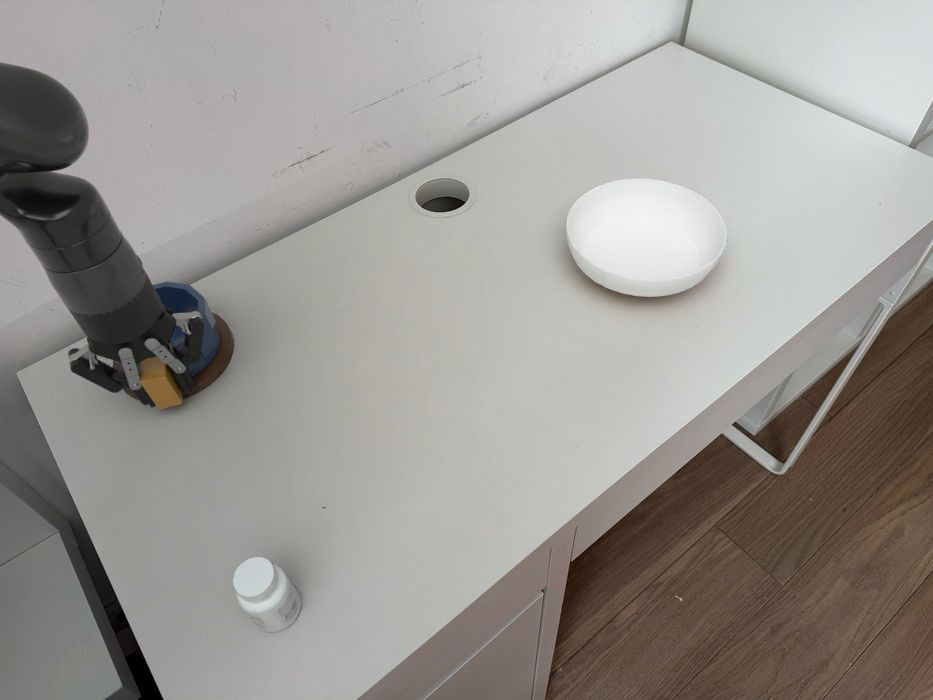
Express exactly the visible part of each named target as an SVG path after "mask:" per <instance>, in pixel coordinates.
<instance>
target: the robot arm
mask: <svg viewBox="0 0 933 700" xmlns="http://www.w3.org/2000/svg"><path fill="white" fill-rule="evenodd" d="M89 139H90V125H89V121H88V118H87V114H86V111H85V110H84V108H83V106H82V104H81V103H80V102H79V100H78V99H77V97H76V96H75V95H74V94H73V93H72V91H70V89H69V88H68V87H66V86H65V85H64V84H63V83H61V82H60V81H59V80H58V79H56V78H54V77H52V76H50V75H49V74H47V73H44V72H41V71H40V70H36V69H33V68H30V67H25V66H21V65H17V64H12V63H6V62H1V61H0V217H2V218H3V219H4V220H5V221H7V222H8V223H10V224H11V225H12V226H13V227H15V229H17V231H18V232H19V234H20V235H21V237H22V238H23V240H24V241H25V243H26V244H27V246H28V247H29V248H30V250H31V252H32V253H33V255H34V256H35V257H36V259H37V261H38V262H39V263H40V265H41V266H42V269H44V272H45V274H46V276H47V278H48V280H49V283H50V285H51V287H53V290H54V291H55V292H56V293H57V295H58V297H59V298H60V299H61V301H62V303H63V304H64V305H65V306H66V308H67V310H68V311H69V312H70V315H72V317H73V318H74V320H75V321H76V323H77V324H78V326H79V327H80V329H81V330H82V332H83V333H84V334H85V336H86V341H87V344H85V345H84V346H83V347H81V348H76V347H75V348H71V349H70V350H68V352H67V355H68V361H69V367H70V372H72V373H73V374H75V375H77V376H79V377H81V378H83V379H84V380H87V381H88V382H90V383H93V384H95V385H97V386H98V387H101V388H103V389H104V390H106V391H108V392H110V393H113V394H114V393H115V394H117V393H120V392H121V391H123V389H122V388H130V389H132V390H133V391H134V393H135V394H136V396H137V397H138V399H139V400H140V401H139V400H138V401H139V402H140V403H141V404H142V405H144V406H147V405H149V406H150V408H154V407H157V406H156V405H155V403H154V402H153V400H152V399H151V397H150V396H149V395H148V393H147V392H146V390H145V389H144V387H143V386H142V385H141V383H140V378H141V373H139V371H138V367H137V364H138V363H140V362H142V361H144V360H145V359H147V358H153V357H158V358H159V359H160V360H161V361H162V362H163V363H164V364H165V365H166V364H167V365H168V366H169V367H170V368H171V369H172V370H173V373H174V376H175V378H176V379H177V381H178V383H179V384H180V386H181V388H182V390H183V391H184V393H185V395H186V394H189V393H191V392H192V391H191V388H192V387H194V384H195V383H194V380H193V377H192V374H191V372H190V370H189V369H188V367H187V366H188V365H189V364H190V363H192V364H195V363H198V362H199V361H200V358H201V349H202V340H203V331H204V323H203V320H202V317H201V314H200V312H199V309H198V308H197V307H191V308H189V309H188V310H187V313H173V311H172V310H171V309H169V308H167V307H166V306H164V305H163V303H162V302H161V300H160V298H159V296H158V294H157V292H156V290H155V288H154V287H153V285H154V284H153V283H152V280H151V279H150V277H149V275H148V273H147V271H146V270H145V268H144V265H143V261H142V260H141V258H140V256H139V255H138V254H137V253H136V251H135V249H134V248H133V246H132V245H131V243H130V242H129V241H128V240H127V238H126V237H125V236H124V234H123V233H122V231H121V230H120V228H119V225H118V224H117V222H116V219H115V218H114V217H113V214H112V213H111V211H110V208H109V207H108V204H107V203H106V201H105V199H104V197H103V195H102V194H101V192H100V191H99V190H98V189H97V187H96V186H95V185H94V184H93V183H92V182H90V181H89V180H87V179H85V178H82V177H80V176H76V175H71V174H65V173H60V172H58V171H61V170H64V169H67V168H69V167H71V166H72V165H74V164H76V163H77V162H78V161H79V160H80V159H81V157H82V156H83V155H84V153H85V151H86V150H87V147H88V144H89ZM55 171H57V172H55ZM176 326H180V327H181V330H182V332H184V333H185V339H184V347H183V348H182V349H180V350H178V349H177V348H176V347H175V345H174V344H173V343H172V342H171V337H172V334H173V332H174V329H175V327H176ZM98 357H101V358H105V359H107V360H111V361H113V360H114V361H117V362H120V363H122V366H123V369H124V371H118V370H116V369H115V368H113V366H111V365H109V364H108V363H106V362H104V361H102V360H100V359H98Z"/></svg>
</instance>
